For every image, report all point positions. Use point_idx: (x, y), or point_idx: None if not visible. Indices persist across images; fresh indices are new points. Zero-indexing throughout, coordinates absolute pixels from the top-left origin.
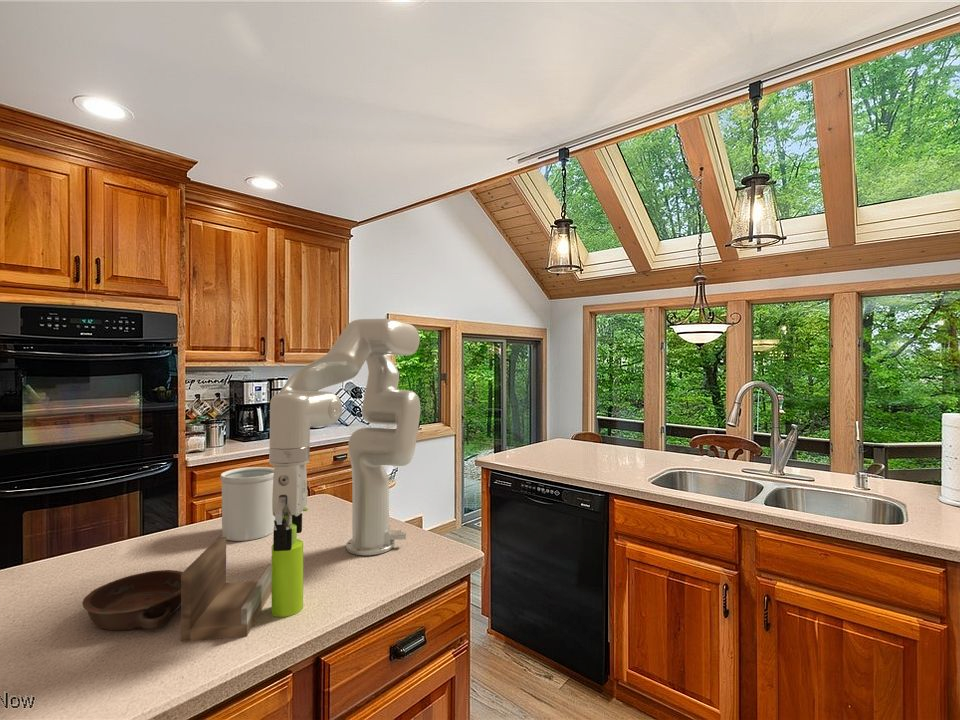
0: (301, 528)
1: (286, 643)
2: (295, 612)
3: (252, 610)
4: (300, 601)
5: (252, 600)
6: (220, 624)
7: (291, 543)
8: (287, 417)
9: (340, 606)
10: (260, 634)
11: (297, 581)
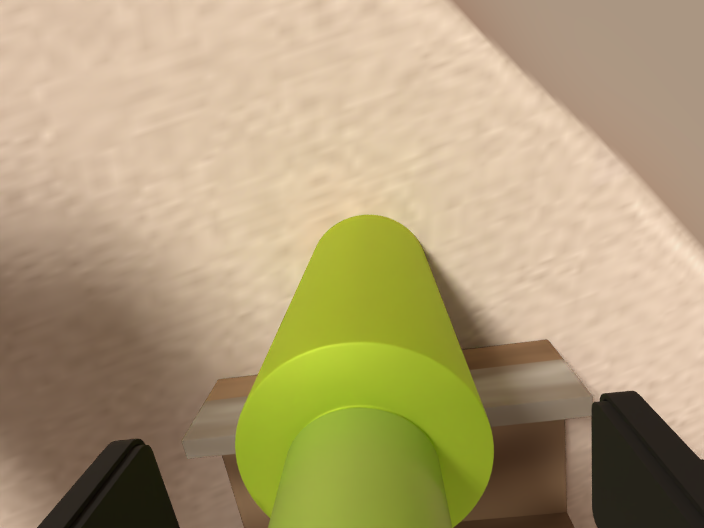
0: (113, 463)
1: (616, 185)
2: (407, 229)
3: (498, 377)
4: (385, 225)
5: (510, 402)
6: (546, 443)
7: (640, 425)
8: None
9: (341, 49)
10: (540, 300)
11: (410, 261)
